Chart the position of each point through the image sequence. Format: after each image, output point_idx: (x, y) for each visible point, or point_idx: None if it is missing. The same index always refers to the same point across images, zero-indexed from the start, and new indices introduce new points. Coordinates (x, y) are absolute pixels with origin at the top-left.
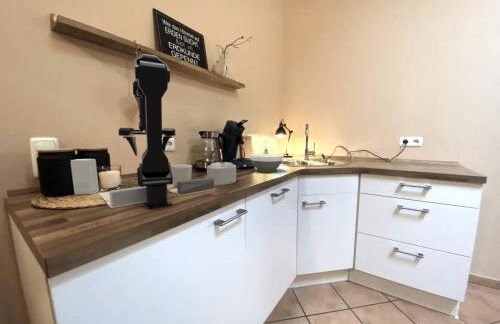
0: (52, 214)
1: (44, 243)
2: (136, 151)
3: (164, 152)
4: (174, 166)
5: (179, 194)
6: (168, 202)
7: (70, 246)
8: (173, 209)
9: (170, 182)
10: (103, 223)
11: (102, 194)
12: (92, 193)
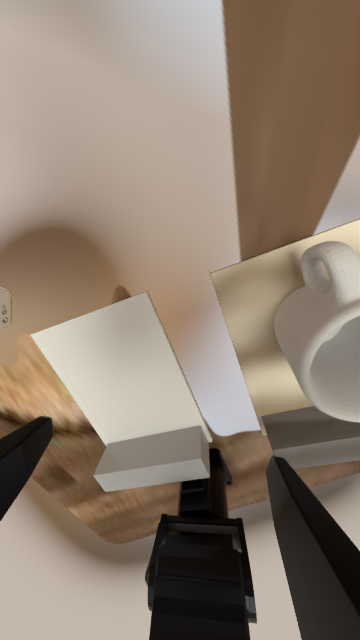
0: None
1: (90, 524)
2: (22, 469)
3: (303, 484)
4: (335, 328)
5: (263, 431)
6: (225, 478)
7: (119, 537)
8: (230, 496)
9: (238, 548)
10: (129, 504)
11: (49, 354)
12: (10, 324)
